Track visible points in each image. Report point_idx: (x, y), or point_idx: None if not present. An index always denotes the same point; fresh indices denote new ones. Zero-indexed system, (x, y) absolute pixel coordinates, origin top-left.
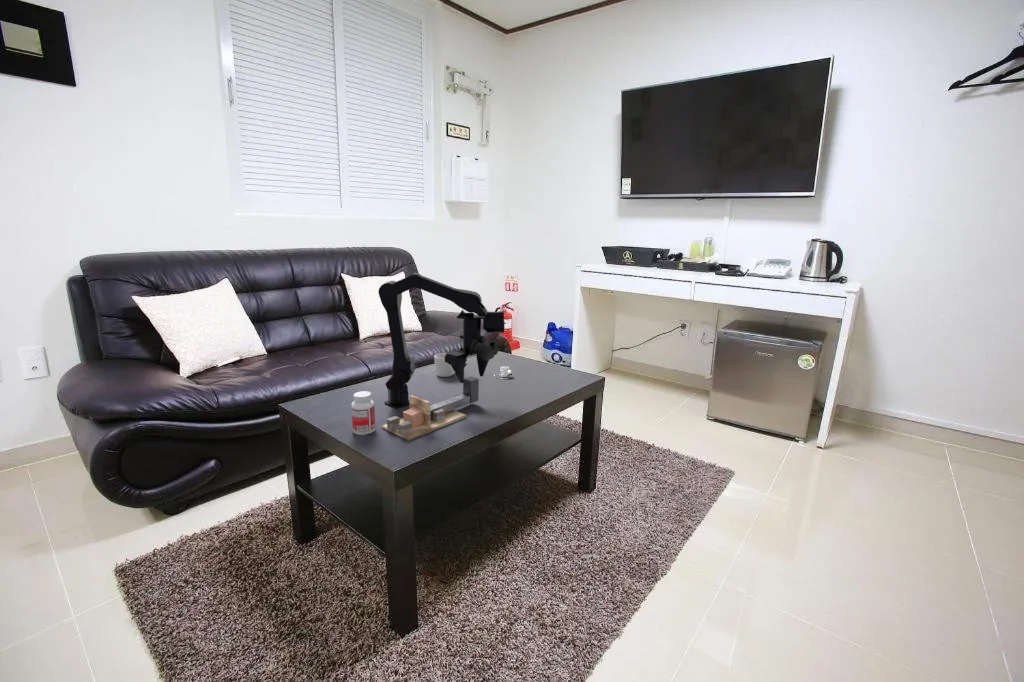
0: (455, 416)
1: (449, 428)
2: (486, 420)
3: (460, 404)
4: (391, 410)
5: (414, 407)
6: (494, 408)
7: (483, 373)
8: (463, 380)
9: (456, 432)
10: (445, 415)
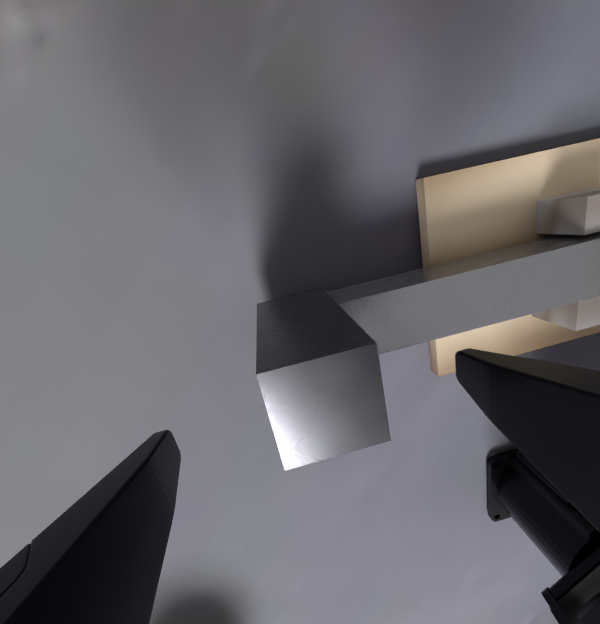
0: (480, 193)
1: (568, 101)
2: (354, 53)
3: (410, 275)
4: None
5: None
6: (200, 194)
7: (140, 452)
8: (476, 357)
9: (582, 22)
10: (506, 237)
